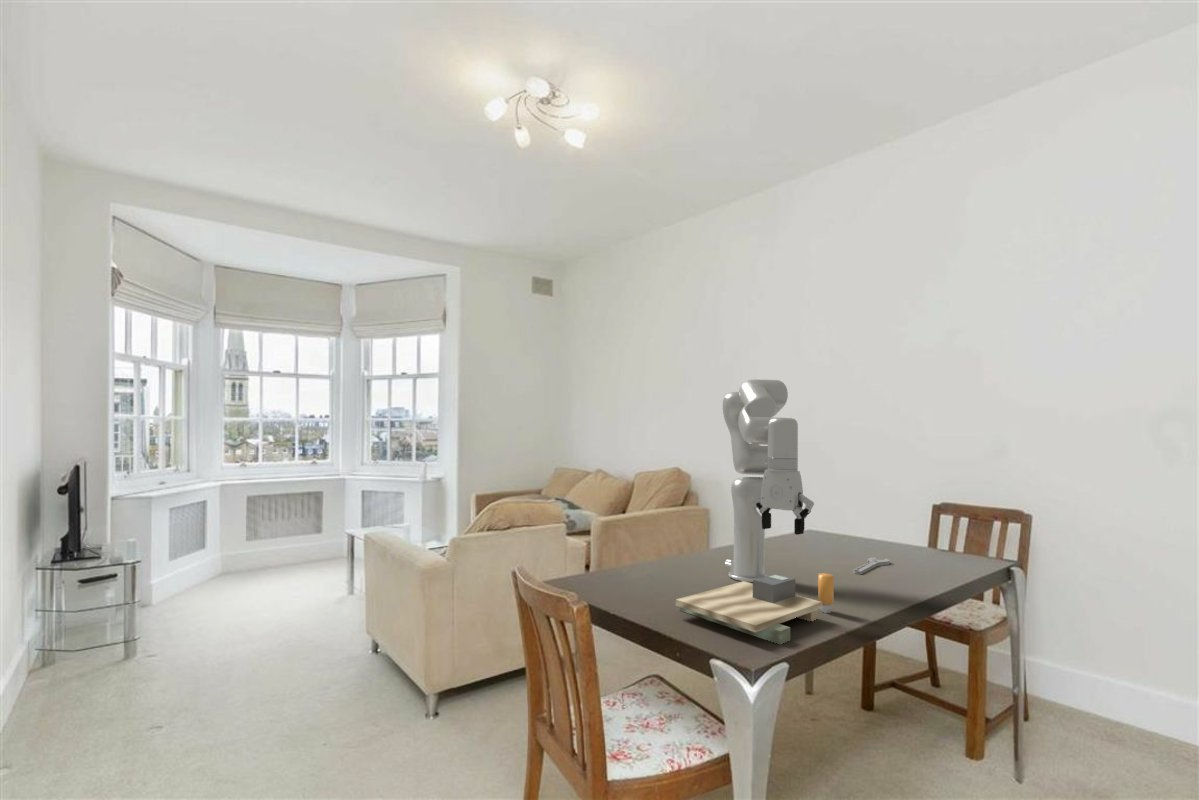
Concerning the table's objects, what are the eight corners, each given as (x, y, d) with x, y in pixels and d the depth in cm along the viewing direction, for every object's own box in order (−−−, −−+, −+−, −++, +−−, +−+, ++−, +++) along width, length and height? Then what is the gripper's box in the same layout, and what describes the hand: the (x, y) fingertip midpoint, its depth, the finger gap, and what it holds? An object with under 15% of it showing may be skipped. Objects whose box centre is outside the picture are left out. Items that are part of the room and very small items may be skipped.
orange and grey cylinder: (815, 611, 159) (815, 574, 159) (822, 608, 161) (823, 572, 162) (828, 614, 156) (828, 577, 156) (836, 612, 159) (836, 575, 159)
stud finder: (752, 597, 155) (752, 579, 155) (775, 590, 161) (775, 573, 162) (772, 603, 150) (773, 584, 150) (795, 596, 157) (795, 578, 157)
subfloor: (666, 614, 155) (666, 596, 155) (734, 594, 173) (734, 578, 173) (767, 650, 132) (767, 629, 132) (833, 623, 150) (833, 604, 150)
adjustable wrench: (859, 576, 197) (859, 571, 197) (840, 572, 202) (840, 567, 202) (891, 564, 214) (891, 559, 214) (873, 561, 218) (873, 556, 218)
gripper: (746, 463, 162) (746, 528, 162) (804, 467, 149) (804, 537, 148) (763, 462, 167) (762, 525, 166) (820, 466, 154) (820, 534, 153)
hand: (782, 531), depth 157 cm, fingers open, 9 cm apart
